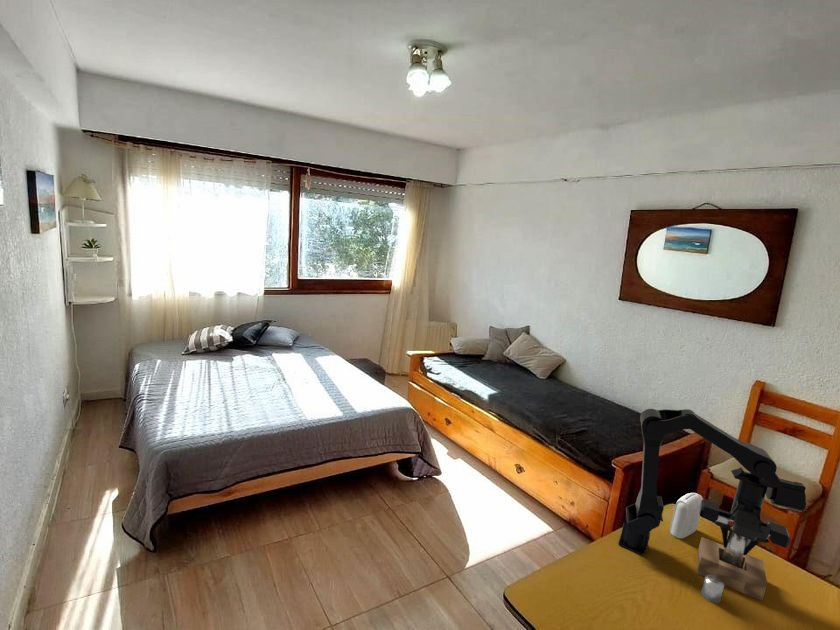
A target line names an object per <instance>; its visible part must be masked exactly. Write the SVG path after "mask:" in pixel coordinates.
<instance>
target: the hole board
mask: <svg viewBox="0 0 840 630" xmlns="http://www.w3.org/2000/svg"><path fill="white" fill-rule="evenodd" d="M724 550H725V547H724V545H723V544H721V543H719V542H716V541H713V540H711V539H708V538H705V537H703V536H701V538H700V541H699V545H698V549H697V561H696V562H697V563H696V564H697V565H696V567H697V568H696V573H697V575H700V576H702V577H704V578H705V576H706V575H713V576H716V577H718V578H719V579H721V580H722V581H723V583H724V587H725V586H726V587H727V588H730V589H732V590H736V591H737V592H740V593H743V594H744V595H747V596H749V597H752V598H754V599H755V600H759V601H760V602H762V601H763V600H764V596H765V592H766V590H767V586H768V580H767V579H768V578H767V574H766V569H765V564H764V560H762V559H759V558H758V557H755V556H753V555H749V554H747V555H743V558H742V562H741V565H740V567H739V568H738V567H736V566H733V565H731V564H728V563H726V562H724V561H723V560H722V557H723V553H724Z"/></svg>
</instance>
